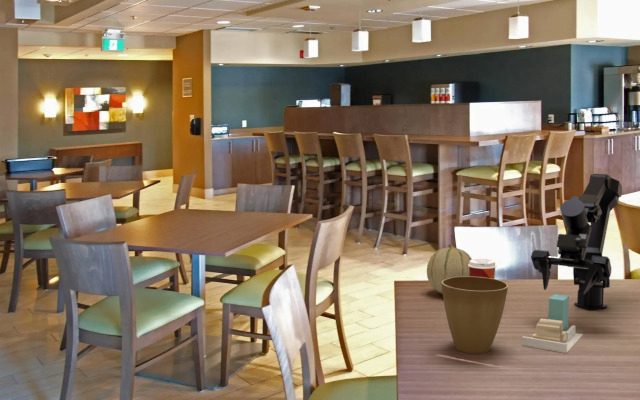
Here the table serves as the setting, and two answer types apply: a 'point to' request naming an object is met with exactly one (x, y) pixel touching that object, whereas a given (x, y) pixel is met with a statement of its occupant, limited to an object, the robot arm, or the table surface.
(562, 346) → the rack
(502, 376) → the table surface
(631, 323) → the table surface
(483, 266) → the paper cup
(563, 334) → the offcut lower
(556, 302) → the teal rectangular block
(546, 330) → the offcut upper
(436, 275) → the cantaloupe
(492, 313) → the plant pot
